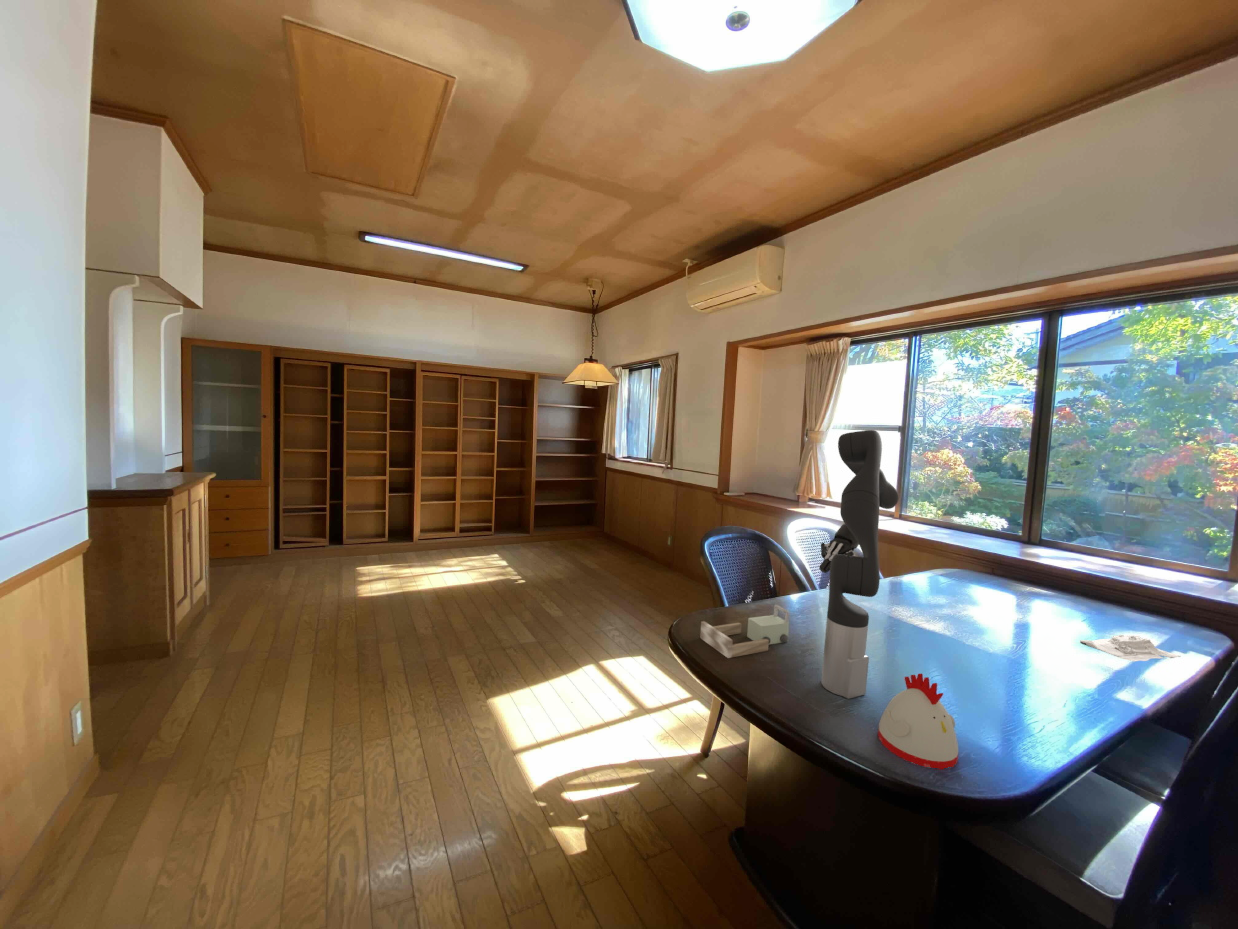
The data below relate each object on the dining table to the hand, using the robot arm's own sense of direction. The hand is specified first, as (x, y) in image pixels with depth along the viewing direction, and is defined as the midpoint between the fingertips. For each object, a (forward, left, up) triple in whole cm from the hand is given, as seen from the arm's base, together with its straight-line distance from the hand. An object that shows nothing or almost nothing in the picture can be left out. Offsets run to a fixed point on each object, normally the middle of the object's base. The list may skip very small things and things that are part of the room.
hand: (822, 571), depth 156 cm
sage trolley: (-1, +21, -19) cm, 29 cm away
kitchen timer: (-51, +27, -20) cm, 61 cm away
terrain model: (-44, -87, -20) cm, 99 cm away
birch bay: (0, +33, -19) cm, 38 cm away
